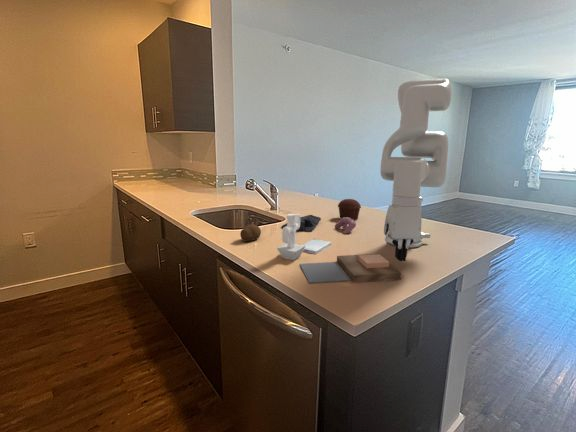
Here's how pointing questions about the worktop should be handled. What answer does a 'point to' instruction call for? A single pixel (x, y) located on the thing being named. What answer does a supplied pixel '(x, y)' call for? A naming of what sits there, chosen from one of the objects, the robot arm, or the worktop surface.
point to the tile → (373, 261)
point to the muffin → (349, 209)
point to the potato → (250, 233)
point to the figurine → (291, 238)
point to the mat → (324, 272)
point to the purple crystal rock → (345, 222)
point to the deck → (366, 270)
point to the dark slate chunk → (307, 223)
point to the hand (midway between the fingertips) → (400, 259)
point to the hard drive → (316, 246)
